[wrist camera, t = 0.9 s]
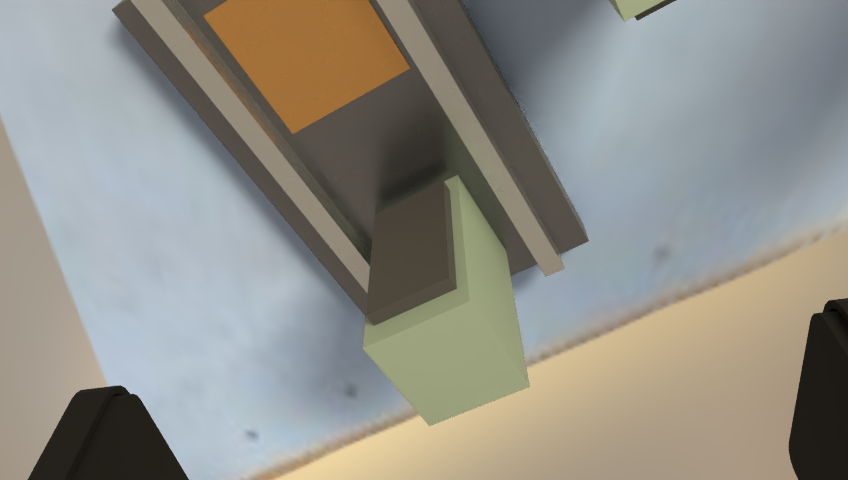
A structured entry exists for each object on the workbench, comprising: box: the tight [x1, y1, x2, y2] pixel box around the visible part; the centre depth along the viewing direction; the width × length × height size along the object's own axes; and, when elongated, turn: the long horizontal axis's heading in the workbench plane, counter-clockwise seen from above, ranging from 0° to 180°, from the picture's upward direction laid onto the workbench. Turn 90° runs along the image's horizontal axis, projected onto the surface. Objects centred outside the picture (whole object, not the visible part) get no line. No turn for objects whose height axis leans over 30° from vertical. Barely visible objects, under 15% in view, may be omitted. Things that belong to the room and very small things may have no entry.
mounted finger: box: [363, 175, 529, 426], centre depth 31 cm, size 4×6×9 cm
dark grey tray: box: [112, 0, 589, 316], centre depth 32 cm, size 12×20×3 cm, turn 30°
